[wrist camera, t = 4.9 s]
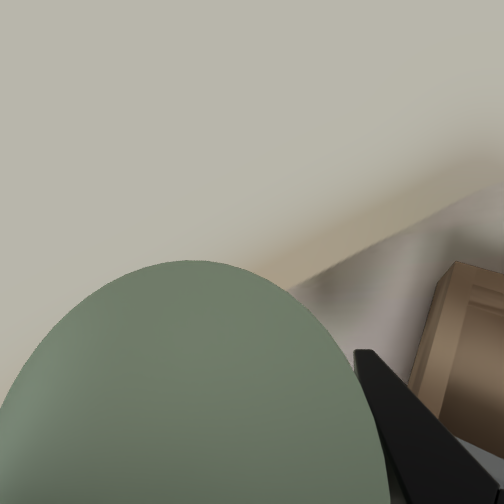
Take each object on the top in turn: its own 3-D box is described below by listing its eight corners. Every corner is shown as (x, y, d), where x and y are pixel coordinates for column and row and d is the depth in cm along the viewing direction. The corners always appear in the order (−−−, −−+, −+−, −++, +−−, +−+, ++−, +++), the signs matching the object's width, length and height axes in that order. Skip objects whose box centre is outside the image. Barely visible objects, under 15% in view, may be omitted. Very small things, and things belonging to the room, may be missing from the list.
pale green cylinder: (327, 508, 11) (250, 1135, 2) (222, 440, 13) (-105, 562, 4) (368, 385, 13) (454, 347, 3) (267, 338, 14) (117, 221, 5)
